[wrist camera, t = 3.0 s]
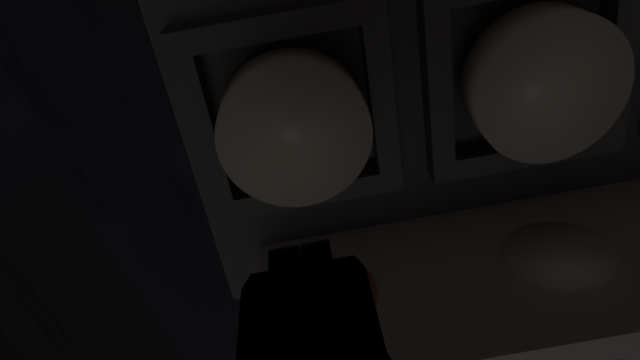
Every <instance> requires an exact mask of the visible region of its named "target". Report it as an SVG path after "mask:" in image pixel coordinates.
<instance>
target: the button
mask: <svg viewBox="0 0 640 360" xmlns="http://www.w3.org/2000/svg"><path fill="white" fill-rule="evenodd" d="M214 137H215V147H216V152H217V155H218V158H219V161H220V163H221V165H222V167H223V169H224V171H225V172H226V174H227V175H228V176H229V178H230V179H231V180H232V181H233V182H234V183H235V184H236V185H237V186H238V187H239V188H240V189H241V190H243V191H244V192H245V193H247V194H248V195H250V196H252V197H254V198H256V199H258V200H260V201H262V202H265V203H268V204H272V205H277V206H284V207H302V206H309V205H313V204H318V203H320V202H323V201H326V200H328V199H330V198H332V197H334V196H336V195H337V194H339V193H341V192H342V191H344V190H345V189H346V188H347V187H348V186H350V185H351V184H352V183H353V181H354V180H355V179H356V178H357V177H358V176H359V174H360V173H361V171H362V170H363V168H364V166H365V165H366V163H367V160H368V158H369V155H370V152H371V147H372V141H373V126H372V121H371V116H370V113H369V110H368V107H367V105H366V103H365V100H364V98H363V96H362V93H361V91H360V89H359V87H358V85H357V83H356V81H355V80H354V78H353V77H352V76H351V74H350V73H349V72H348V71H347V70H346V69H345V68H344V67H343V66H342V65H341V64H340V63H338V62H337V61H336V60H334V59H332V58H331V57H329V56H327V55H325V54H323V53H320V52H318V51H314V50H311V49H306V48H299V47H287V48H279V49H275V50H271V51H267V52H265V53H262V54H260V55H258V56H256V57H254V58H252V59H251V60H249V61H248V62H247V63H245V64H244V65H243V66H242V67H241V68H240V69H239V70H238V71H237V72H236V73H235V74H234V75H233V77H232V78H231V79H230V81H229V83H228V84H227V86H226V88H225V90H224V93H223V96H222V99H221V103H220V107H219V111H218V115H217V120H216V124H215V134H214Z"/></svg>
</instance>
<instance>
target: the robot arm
mask: <svg viewBox="0 0 640 360" xmlns="http://www.w3.org/2000/svg"><path fill="white" fill-rule="evenodd" d="M300 250H301V253H300ZM236 360H392V359H391V357H390V356H389V354H388V352H387V350H386V347H385V343H384V339H383V335H382V331H381V327H380V323H379V319H378V314H377V310H376V306H375V302H374V299H373V294H372V290H371V286H370V282H369V278H368V274H367V270H366V267H365V266H364V265H363V264H362V263H361V262H360V261H359V260H358V259H357V258H356V257H355V256H354V255H352V256H347V257H341V258H336V259H333V257H332V252H331V247H330V241H329V239H324V240H318V241H313V242H307V243H301V244H300V249H299V246H298V244H296V245H291V246H285V247H280V248H274V249H269V251H268V271H264V272H258V273H252V274H250V276H249V277H248V279H247V281H246V282H245V284H244V286H243V288H242V289H241V298H240V312H239V326H238V340H237V355H236Z"/></svg>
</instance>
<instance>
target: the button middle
mask: <svg viewBox="0 0 640 360" xmlns="http://www.w3.org/2000/svg"><path fill="white" fill-rule="evenodd" d="M634 74H635V64H634V56H633V52H632V49H631V46H630V44H629V41H628V40H627V38H626V37H625V35H624V33H623V32H622V31H621V30H620V29H619V28H618V27H617V26H616V25H615V24H613V23H612V22H611V21H609V20H607V19H605V18H604V17H602V16H599V15H596V14H594V13H591V12H589V11H586V10H584V9H581V8H579V7H576V6H574V5H571V4H568V3H565V2H559V1H538V2H533V3H529V4H525V5H523V6H520V7H517V8H515V9H513V10H511V11H509V12H507V13H506V14H504V15H503V16H501V17H500V18H498V19H497V20H496V21H495V22H493V23H492V24H491V25H490V26H489V27H488V28H487V29H486V30H485V31H484V32H483V33H482V34H481V35H480V37H479V38H478V39H477V41H476V42H475V44H474V45H473V47H472V49H471V50H470V52H469V54H468V57H467V59H466V61H465V64H464V67H463V71H462V76H461V88H460V90H461V99H462V103H463V107H464V109H465V112H466V114H467V116H468V117H469V119H470V121H471V122H472V123H473V124H474V126H475V127H476V128H477V129H478V130H479V131H480V133H481V134H482V135H483V136H484V137H485V139H486V140H487V141H488V142H489V143H490V145H491V146H492V147H493V148H494V149H495V150H497V151H498V152H499V153H501V154H502V155H504V156H505V157H507V158H510V159H512V160H515V161H519V162H522V163H530V164H543V163H551V162H555V161H560V160H563V159H566V158H568V157H571V156H573V155H575V154H577V153H579V152H581V151H583V150H585V149H586V148H588V147H589V146H591V145H592V144H593V143H595V142H596V141H597V140H599V139H600V138H601V137H602V136H603V135H604V134H605V133H606V132H607V131H608V130H609V129H610V128H611V127H612V126H613V124H614V123H615V122H616V120H617V119H618V118H619V116H620V114H621V113H622V111H623V110H624V108H625V106H626V104H627V101H628V99H629V97H630V94H631V91H632V87H633V82H634Z"/></svg>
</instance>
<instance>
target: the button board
mask: <svg viewBox="0 0 640 360" xmlns="http://www.w3.org/2000/svg"><path fill="white" fill-rule="evenodd" d="M538 1H559V2H565V3H568V4H571V5H574V6H576V7H579V8H581V9H584V10H586V11H589V12H591V13H594V14H596V15H599V16H602V17H604V18H605V19H607V20H609V21H611V22H612V23H613V24H615V25H616V26H617V27H618V28H619V29H620V30H621V31H622V32H623V33H624V35H625V37H626V38H627V40H628V41H629V44H630V46H631V49H632V52H633V56H634V64H635V74H634V82H633V87H632V91H631V94H630V97H629V99H628V101H627V104H626V106H625V108H624V110H623V111H622V113H621V114H620V116H619V118H618V119H617V120H616V122H615V123H614V124H613V126H612V127H611V128H610V129H609V130H608V131H607V132H606V133H605V134H604V135H603V136H602V137H601V138H600V139H599V140H597V141H596V142H595V143H593V144H592V145H591V146H589V147H588V148H586V149H585V150H583V151H581V152H579V153H577V154H575V155H573V156H571V157H568V158H566V159H563V160H560V161H555V162H551V163H543V164H530V163H522V162H519V161H515V160H512V159H510V158H507V157H505V156H504V155H502V154H501V153H499V152H498V151H497V150H495V149H494V148H493V147H492V146H491V145H490V143H489V142H488V141H487V140H486V139H485V137H484V136H483V135H482V134H481V133H480V131H479V130H478V129H477V128H476V127H475V126H474V124H473V123H472V122H471V121H470V119H469V117H468V116H467V114H466V112H465V109H464V107H463V103H462V99H461V90H460V88H461V76H462V71H463V67H464V64H465V61H466V59H467V57H468V54H469V52H470V50H471V49H472V47H473V45H474V44H475V42H476V41H477V39H478V38H479V37H480V35H481V34H482V33H483V32H484V31H485V30H486V29H487V28H488V27H489V26H490V25H491V24H492V23H493V22H495V21H496V20H497V19H498V18H500V17H501V16H503V15H504V14H506V13H507V12H509V11H511V10H513V9H515V8H517V7H520V6H523V5H525V4H529V3H533V2H538ZM138 2H139V6H140V9H141V12H142V15H143V18H144V21H145V24H146V27H147V31H148V34H149V37H150V40H151V43H152V46H153V49H154V52H155V55H156V59H157V62H158V65H159V68H160V71H161V74H162V77H163V80H164V83H165V87H166V90H167V93H168V96H169V99H170V102H171V105H172V108H173V111H174V115H175V118H176V121H177V124H178V127H179V130H180V133H181V136H182V140H183V143H184V146H185V149H186V152H187V155H188V158H189V161H190V164H191V168H192V171H193V174H194V177H195V180H196V183H197V186H198V189H199V192H200V196H201V199H202V202H203V205H204V208H205V211H206V214H207V217H208V220H209V224H210V227H211V230H212V233H213V236H214V239H215V242H216V245H217V249H218V252H219V255H220V258H221V261H222V264H223V267H224V270H225V273H226V277H227V280H228V283H229V286H230V289H231V292H232V295H233V298H234V299H239V298H241V289H242V288H243V286H244V284H245V282H246V281H247V279H248V277H249V276H250V274H252V273H258V272H264V271H268V251H269V249H274V248H280V247H285V246H291V245H296V244H298V246H299V249H300V244H301V243H307V242H313V241H318V240H324V239H329V241H330V247H331V252H332V257H333V259H336V258H341V257H347V256H352V255H354V256H355V257H356V258H357V259H358V260H359V261H360V262H361V263H362V264H363V265H364V266H365V267H366V270H367V274H368V278H369V282H370V286H371V290H372V294H373V299H374V302H375V306H376V310H377V314H378V319H379V323H380V327H381V331H382V335H383V339H384V343H385V347H386V350H387V352H388V354H389V356H390V357H391V359H392V360H614V359H620V358H625V357H631V356H637V355H640V0H138ZM287 47H299V48H306V49H311V50H314V51H318V52H320V53H323V54H325V55H327V56H329V57H331V58H332V59H334V60H336V61H337V62H338V63H340V64H341V65H342V66H343V67H344V68H345V69H346V70H347V71H348V72H349V73H350V74H351V76H352V77H353V78H354V80H355V81H356V83H357V85H358V87H359V89H360V91H361V93H362V96H363V98H364V100H365V103H366V105H367V107H368V110H369V113H370V116H371V121H372V126H373V141H372V147H371V152H370V155H369V158H368V160H367V163H366V165H365V166H364V168H363V170H362V171H361V173H360V174H359V176H358V177H357V178H356V179H355V180H354V181H353V183H352V184H351V185H350V186H348V187H347V188H346V189H345V190H344V191H342V192H341V193H339V194H337V195H336V196H334V197H332V198H330V199H328V200H326V201H323V202H320V203H318V204H313V205H309V206H302V207H284V206H277V205H272V204H268V203H265V202H262V201H260V200H258V199H256V198H254V197H252V196H250V195H248V194H247V193H245V192H244V191H243V190H241V189H240V188H239V187H238V186H237V185H236V184H235V183H234V182H233V181H232V180H231V179H230V178H229V176H228V175H227V174H226V172H225V171H224V169H223V167H222V165H221V163H220V161H219V158H218V155H217V152H216V147H215V137H214V134H215V124H216V120H217V115H218V111H219V107H220V103H221V99H222V96H223V93H224V90H225V88H226V86H227V84H228V83H229V81H230V79H231V78H232V77H233V75H234V74H235V73H236V72H237V71H238V70H239V69H240V68H241V67H242V66H243V65H244V64H245V63H247V62H248V61H249V60H251V59H252V58H254V57H256V56H258V55H260V54H262V53H265V52H267V51H271V50H275V49H279V48H287ZM300 253H301V250H300Z"/></svg>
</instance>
